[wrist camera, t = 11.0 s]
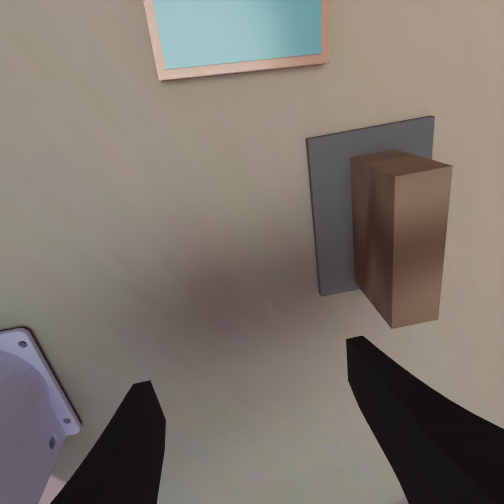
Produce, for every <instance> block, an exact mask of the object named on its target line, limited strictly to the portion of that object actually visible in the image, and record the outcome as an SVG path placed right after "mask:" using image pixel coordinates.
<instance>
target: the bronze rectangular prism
mask: <svg viewBox="0 0 504 504" xmlns="http://www.w3.org/2000/svg"><path fill="white" fill-rule="evenodd" d="M350 164H351V194H352V223H353V252H354V281H355V283H356V284H357V285H358V286H359V288H360V289H361V290H362V292H363V293H364V294H365V295H366V297H367V298H368V299H369V301H370V302H371V303H372V304H373V306H374V307H375V308H376V309H377V311H378V312H379V313H380V315H381V316H382V317H383V318H384V320H385V321H386V322H387V323H388V325H389V326H390V327H391V329H393V328H398V327H403V326H408V325H413V324H418V323H422V322H427V321H432V320H437V319H438V315H439V304H440V294H441V283H442V272H443V262H444V251H445V241H446V230H447V219H448V209H449V198H450V188H451V177H452V166H451V165H448V164H444V163H441V162H437V161H434V160H430V159H427V158H423V157H419V156H416V155H412V154H409V153H405V152H402V151H398V150H395V149H393V150H388V151H382V152H377V153H372V154H366V155H361V156H356V157H350Z"/></svg>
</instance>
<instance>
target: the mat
mask: <svg viewBox="0 0 504 504" xmlns="http://www.w3.org/2000/svg"><path fill="white" fill-rule="evenodd" d="M434 118H435V116H427V117H421V118H416V119H410V120H405V121H399V122H394V123H389V124H383V125H378V126H372V127H367V128H361V129H356V130H350V131H345V132H340V133H334V134H329V135H323V136H318V137H312V138H307V139H306V145H307V156H308V168H309V179H310V191H311V202H312V214H313V225H314V236H315V248H316V259H317V271H318V282H319V293H320V295H321V296H326V295H331V294H336V293H341V292H346V291H351V290H356V289H360V288H359V286H358V285H357V284H356V283H355V281H354V252H353V223H352V194H351V164H350V157H356V156H361V155H366V154H372V153H377V152H382V151H388V150H393V149H395V150H398V151H402V152H405V153H409V154H412V155H416V156H419V157H423V158H427V159H430V160H432V148H433V133H434Z"/></svg>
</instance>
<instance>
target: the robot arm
mask: <svg viewBox="0 0 504 504" xmlns="http://www.w3.org/2000/svg"><path fill="white" fill-rule="evenodd" d="M22 341H24V342H26V343H27V344H25V343H23V342H22ZM346 347H347V367H348V381H349V384H350V386H351V389H352V391H353V394H354V396H355V398H356V401H357V403H358V406H359V408H360V410H361V412H362V413H363V415H364V417H365V419H366V421H367V423H368V424H369V426H370V428H371V430H372V432H373V434H374V435H375V437H376V439H377V441H378V443H379V445H380V446H381V448H382V450H383V452H384V454H385V455H386V457H387V459H388V461H389V463H390V465H391V466H392V468H393V470H394V472H395V474H396V476H397V478H398V480H399V482H400V485H401V487H402V489H403V491H404V494H405V496H406V498H407V500H408V503H409V504H504V429H503V428H501V427H499V426H497V425H495V424H493V423H491V422H489V421H487V420H485V419H483V418H481V417H479V416H477V415H475V414H473V413H471V412H470V411H468V410H466V409H464V408H463V407H461V406H459V405H458V404H456V403H454V402H452V401H451V400H449V399H447V398H446V397H444V396H443V395H441V394H440V393H438V392H437V391H435V390H434V389H432V388H431V387H429V386H428V385H426V384H425V383H423V382H422V381H420V380H419V379H418V378H416V377H415V376H413V375H412V374H411V373H409V372H408V371H407V370H405V369H404V368H403V367H401V366H400V365H399V364H397V363H396V362H395V361H393V360H392V359H391V358H390V357H388V356H387V355H386V354H385V353H383V352H382V351H381V350H380V349H378V348H377V347H376V346H375V345H373V344H372V343H371V342H370V341H369V340H367V339H366V338H365V337H363V336H358V337H354V338H349V339H346ZM165 427H166V419H165V417H164V414H163V412H162V409H161V406H160V404H159V401H158V399H157V396H156V394H155V391H154V388H153V386H152V383H151V381H145V382H141V383H136V384H133V385H132V387H131V388H130V390H129V391H128V393H127V395H126V396H125V398H124V400H123V401H122V403H121V404H120V406H119V408H118V409H117V411H116V413H115V414H114V416H113V417H112V419H111V421H110V422H109V424H108V425H107V427H106V428H105V430H104V431H103V433H102V434H101V436H100V437H99V439H98V441H97V442H96V443H95V445H94V446H93V448H92V449H91V451H90V452H89V453H88V455H87V456H86V458H85V459H84V460H83V462H82V463H81V465H80V466H79V468H78V469H77V470H76V472H75V473H74V474H73V476H72V477H71V478H70V480H69V481H68V482H67V483H66V485H65V486H64V487H63V489H62V490H61V491H60V492H59V494H58V495H57V496H56V497H55V498H54V500H53V501H52V502H51V503H50V504H157V497H158V491H159V484H160V478H161V471H162V465H163V458H164V451H165ZM80 429H81V424H80V422H79V420H78V418H77V417H76V415H75V413H74V411H73V409H72V408H71V406H70V404H69V402H68V400H67V399H66V397H65V395H64V393H63V391H62V390H61V388H60V386H59V384H58V382H57V381H56V379H55V377H54V375H53V373H52V371H51V370H50V368H49V366H48V364H47V362H46V361H45V359H44V357H43V355H42V353H41V352H40V350H39V348H38V346H37V344H36V343H35V341H34V339H33V337H32V335H31V334H30V332H29V331H28V330H26V329H24V328H17V329H11V330H6V331H1V332H0V504H38V503H39V500H40V498H41V496H42V493H43V491H44V489H45V486H46V484H47V482H48V479H49V477H50V475H51V472H52V470H53V467H54V465H55V463H56V460H57V458H58V456H59V453H60V451H61V449H62V446H63V444H64V441H65V439H66V437H67V436H69V435H74V434H77V433H79V431H80Z"/></svg>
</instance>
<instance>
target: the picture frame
mask: <svg viewBox="0 0 504 504" xmlns="http://www.w3.org/2000/svg"><path fill="white" fill-rule="evenodd" d="M143 1H144V6H145V11H146V16H147V21H148V27H149V32H150V37H151V42H152V47H153V52H154V58H155V63H156V68H157V73H158V78H159V81H168V80H178V79H187V78H197V77H207V76H216V75H226V74H235V73H245V72H254V71H264V70H274V69H283V68H293V67H302V66H312V65H321V64H325V63H329V0H143Z"/></svg>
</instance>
